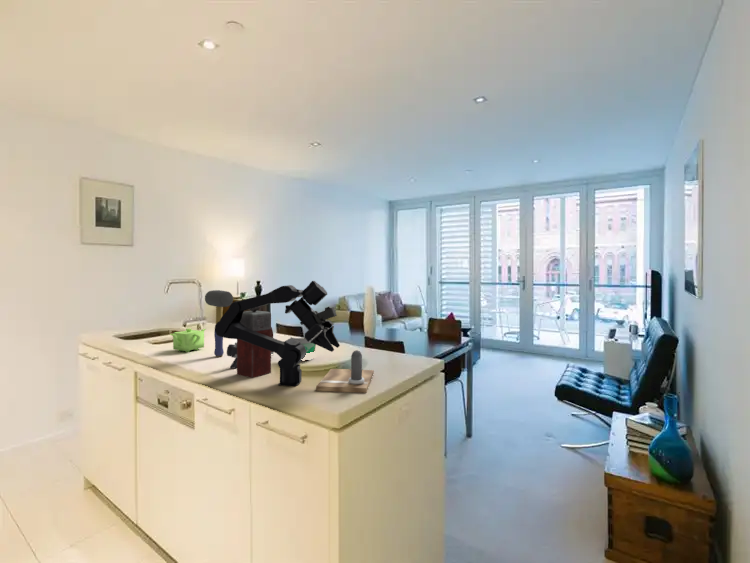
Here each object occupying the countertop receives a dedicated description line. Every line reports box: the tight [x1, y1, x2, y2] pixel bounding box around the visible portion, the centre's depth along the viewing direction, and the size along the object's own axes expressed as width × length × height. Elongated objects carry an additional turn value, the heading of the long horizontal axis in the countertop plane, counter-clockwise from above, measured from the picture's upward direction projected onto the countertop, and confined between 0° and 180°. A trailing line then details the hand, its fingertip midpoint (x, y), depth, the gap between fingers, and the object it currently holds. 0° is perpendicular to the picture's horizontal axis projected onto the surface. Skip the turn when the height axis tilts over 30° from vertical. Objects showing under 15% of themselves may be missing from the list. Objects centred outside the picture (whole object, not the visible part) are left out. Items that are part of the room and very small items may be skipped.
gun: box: [226, 342, 275, 369], centre depth 163 cm, size 2×25×10 cm, turn 151°
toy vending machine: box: [236, 306, 274, 379], centre depth 148 cm, size 9×11×28 cm
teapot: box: [169, 328, 207, 353], centre depth 189 cm, size 15×13×11 cm
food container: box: [290, 336, 317, 353], centre depth 170 cm, size 12×6×10 cm, turn 105°
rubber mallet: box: [204, 289, 234, 358], centre depth 176 cm, size 12×8×30 cm, turn 55°
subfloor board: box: [315, 368, 375, 394], centre depth 137 cm, size 16×23×2 cm
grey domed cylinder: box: [349, 349, 364, 385], centre depth 131 cm, size 5×5×11 cm
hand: (336, 348), depth 132 cm, fingers open, 9 cm apart
